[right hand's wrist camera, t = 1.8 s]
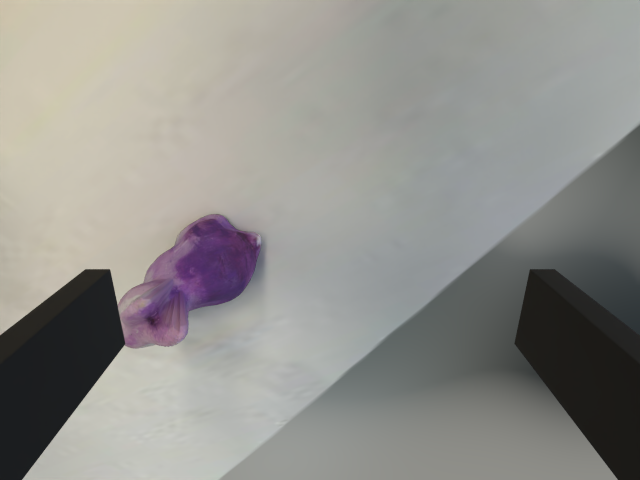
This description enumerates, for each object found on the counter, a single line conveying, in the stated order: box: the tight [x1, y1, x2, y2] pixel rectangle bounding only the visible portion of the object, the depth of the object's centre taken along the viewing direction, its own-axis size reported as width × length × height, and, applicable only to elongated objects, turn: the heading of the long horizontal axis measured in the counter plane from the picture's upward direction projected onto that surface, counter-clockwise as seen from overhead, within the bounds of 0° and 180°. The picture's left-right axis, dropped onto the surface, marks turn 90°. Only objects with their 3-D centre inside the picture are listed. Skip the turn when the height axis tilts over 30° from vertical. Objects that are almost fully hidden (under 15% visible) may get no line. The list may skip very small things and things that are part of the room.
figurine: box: [118, 214, 262, 348], centre depth 34 cm, size 9×10×15 cm
